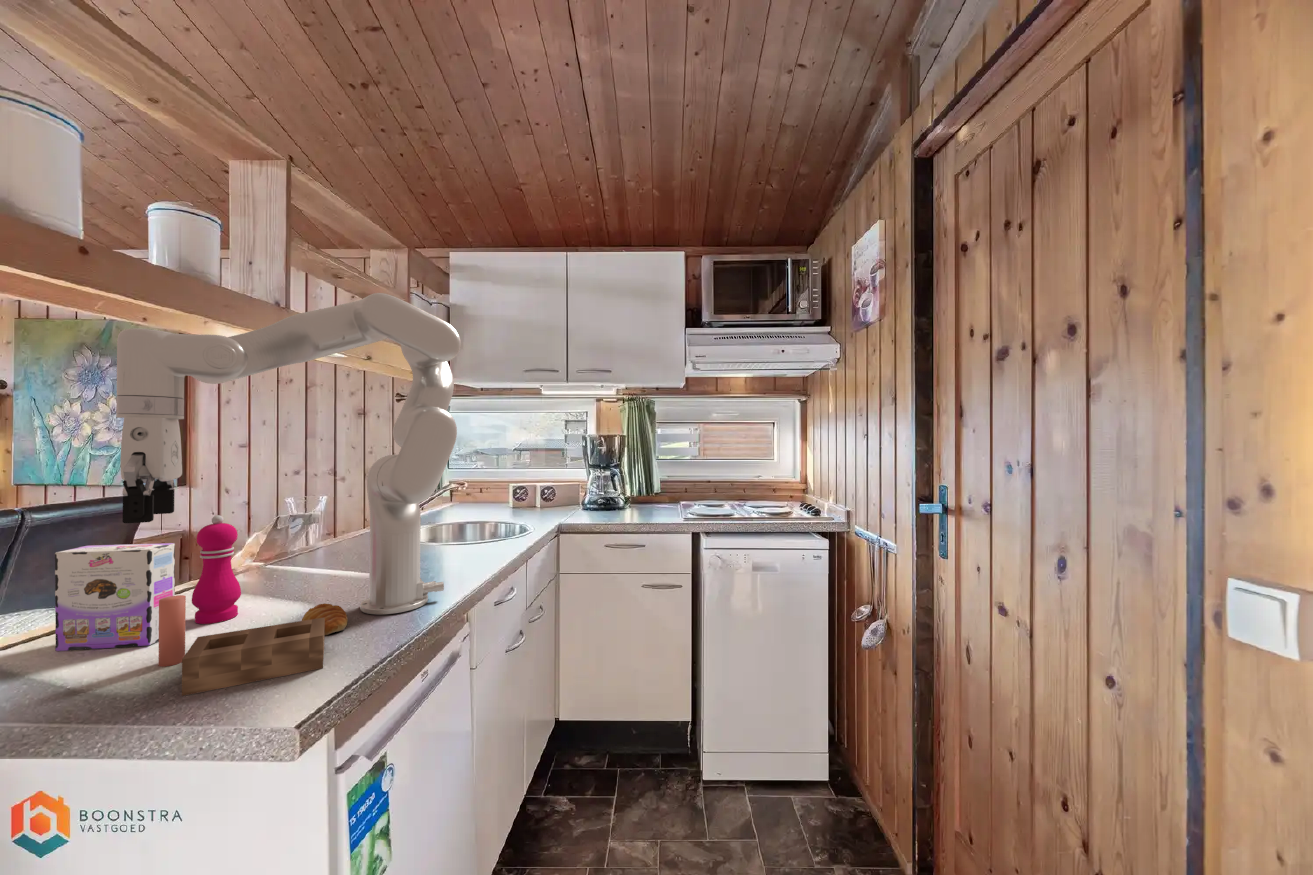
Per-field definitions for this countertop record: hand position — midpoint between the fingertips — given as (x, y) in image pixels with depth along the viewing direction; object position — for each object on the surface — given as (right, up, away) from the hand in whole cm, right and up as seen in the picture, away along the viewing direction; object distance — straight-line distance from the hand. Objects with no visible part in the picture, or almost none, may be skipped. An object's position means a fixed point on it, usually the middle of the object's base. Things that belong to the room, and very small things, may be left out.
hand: (150, 517), depth 79 cm
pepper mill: (-5, -23, +18) cm, 30 cm away
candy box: (-12, -23, +7) cm, 27 cm away
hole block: (+20, -23, -3) cm, 30 cm away
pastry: (+18, -23, +15) cm, 33 cm away
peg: (+4, -23, -1) cm, 23 cm away
